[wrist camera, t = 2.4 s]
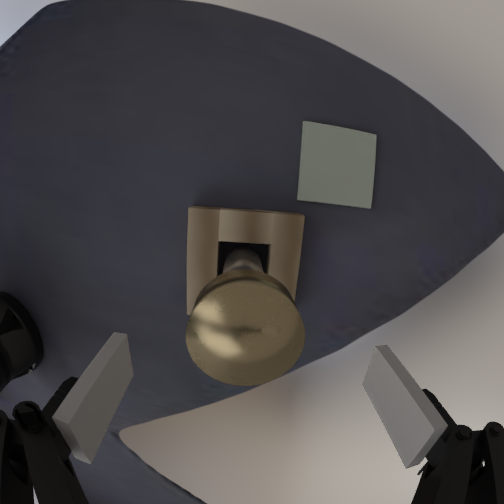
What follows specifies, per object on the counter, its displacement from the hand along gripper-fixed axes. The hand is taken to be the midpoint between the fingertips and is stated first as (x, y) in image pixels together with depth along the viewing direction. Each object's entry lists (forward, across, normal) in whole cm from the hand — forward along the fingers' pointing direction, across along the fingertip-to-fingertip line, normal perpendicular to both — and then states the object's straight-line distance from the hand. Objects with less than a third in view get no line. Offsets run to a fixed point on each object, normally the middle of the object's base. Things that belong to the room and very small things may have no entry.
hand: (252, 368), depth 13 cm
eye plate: (+20, 0, 0) cm, 20 cm away
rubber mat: (+20, -10, -12) cm, 25 cm away
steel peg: (+20, 0, 0) cm, 20 cm away
